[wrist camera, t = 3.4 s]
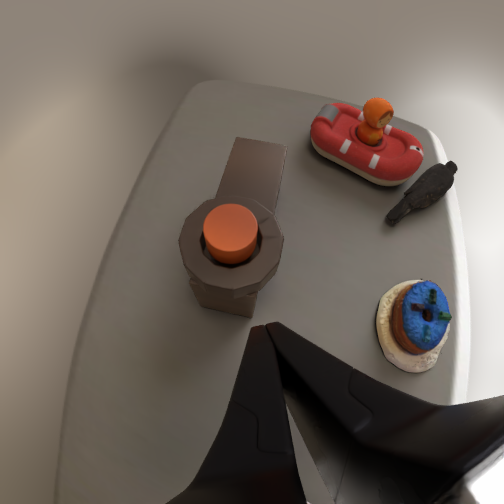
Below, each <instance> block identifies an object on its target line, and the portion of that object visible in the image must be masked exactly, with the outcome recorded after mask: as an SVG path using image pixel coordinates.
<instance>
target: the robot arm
mask: <svg viewBox="0 0 504 504" xmlns="http://www.w3.org/2000/svg"><path fill="white" fill-rule="evenodd" d="M285 402H286V403H285ZM286 404H287V406H288V408H289V411H290V413H291V415H292V417H293V419H294V421H295V423H296V425H297V427H298V430H299V432H300V434H301V436H302V438H303V440H304V442H305V444H306V446H307V448H308V450H309V452H310V454H311V456H312V458H313V461H314V463H315V465H316V467H317V469H318V471H319V473H320V475H321V477H322V479H323V481H324V483H325V485H326V487H327V489H328V491H329V493H330V495H331V497H332V499H333V500H334V502H335V504H504V395H502V396H498V397H494V398H489V399H484V400H479V401H474V402H469V403H463V404H458V405H450V406H444V405H437V404H433V403H430V402H427V401H424V400H422V399H419V398H417V397H414V396H412V395H409V394H407V393H404V392H402V391H399V390H397V389H394V388H392V387H390V386H388V385H385V384H383V383H381V382H379V381H377V380H375V379H373V378H371V377H369V376H367V375H366V374H364V373H362V372H360V371H359V370H357V369H355V368H354V369H353V367H352V366H350V365H348V364H346V363H345V362H343V361H341V360H340V359H338V358H336V357H335V356H333V355H331V354H330V353H328V352H326V351H325V350H323V349H321V348H320V347H318V346H316V345H315V344H313V343H312V342H310V341H308V340H307V339H305V338H303V337H302V336H300V335H299V334H297V333H295V332H294V331H292V330H291V329H289V328H287V327H286V326H284V325H283V324H281V323H279V322H273V323H269V324H266V325H265V326H264V325H259V326H255V327H252V328H251V330H250V333H249V337H248V340H247V344H246V347H245V351H244V354H243V357H242V361H241V364H240V368H239V371H238V375H237V378H236V381H235V385H234V388H233V391H232V395H231V398H230V401H229V404H228V408H227V411H226V414H225V417H224V419H223V422H222V425H221V427H220V429H219V432H218V434H217V436H216V438H215V440H214V442H213V444H212V446H211V448H210V450H209V452H208V454H207V456H206V458H205V460H204V462H203V463H202V465H201V467H200V469H199V471H198V473H197V475H196V476H195V478H194V480H193V481H192V482H191V484H190V485H189V486H188V487H187V488H186V489H185V490H184V491H183V492H181V493H180V494H179V495H177V496H176V497H174V498H173V499H172V500H170V501H169V502H167V503H166V504H307V501H306V498H305V494H304V491H303V487H302V484H301V480H300V477H299V473H298V468H297V464H296V458H295V453H294V447H293V442H292V436H291V431H290V425H289V420H288V414H287V409H286Z"/></svg>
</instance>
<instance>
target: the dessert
mask: <svg viewBox="0 0 504 504" xmlns="http://www.w3.org/2000/svg"><path fill="white" fill-rule="evenodd" d="M421 280H422V279H421ZM421 280H411V281H406V282H403V283H400V284H398V285H396V286H394V287H393V288H392V289H390V290H389V291H388V292H387V293H385V294H384V295H383V297H382V298H381V300H380V303H379V309H378V312H377V319H376V320H377V321H376V324H377V332H378V337H379V342H380V344H381V347H382V349H383V352H384V355H385V357H386V358H387V360H389V361H390V362H392V363H393V364H395V365H396V366H397V367H398V368H400V369H402V370H405V371H407V372H415V373H417V372H423V371H426V370H428V369H430V368H432V367H433V366H434V365H435V364H436V361H437V358H438V355H439V352H440V350H441V348H442V346H443V345H444V343H445V340H447V338H448V336H447V333H448V332H449V326H450V325H449V321H450V320H451V318H452V316H451V314H450V312H449V307H448V302H447V299H446V297H445V295H444V293H443V292H442V290H441V288H439V287H438V285H437V284H435V283H434V282H431V280H429V281H428V280H426V281H421ZM441 354H442V353H441Z"/></svg>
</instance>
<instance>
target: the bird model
mask: <svg viewBox="0 0 504 504" xmlns="http://www.w3.org/2000/svg"><path fill="white" fill-rule="evenodd" d="M456 171H457V166H456V164H455V163H454V162H452V161H449V162H447V163H446V165H443V164H441V163H439V164H436V165H434V166H432V167H431V168H429V169H428V170H427V171H426V172H424V173H423V174H422V175H421V176H420V177H419V178H418V180H417V181H416V182H415V183H414V184H413V185H412V186H411V187H410V188H409V189H408V190H407V191H406V192H405V193H404V195H406V196H405V197H404V199H402V200H401V201H400V203H399V204H398V205H396V206H395V207H394V208H393V209H392V210H391V211H390V212H389V213H388V215H387V218H388V219H390V221H391V223H393V224H396V223H398V222H399V221H400V219H401V218H403V217H404V216H405V215H406V214H407V213H408V212H409V211H410V210H411V209H412V208H418V207H421V208H424V207H427V206H428V205H431V204H432V203H433V202H434V201H436V200H437V199H438V198H440V197H442V196H443V195H444V194H445V193H446V192H447V191H448V190H449V189H450V188H451V186H452V184H453V182H454V176H453V175H454V174H455V173H456Z"/></svg>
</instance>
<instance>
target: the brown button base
mask: <svg viewBox="0 0 504 504" xmlns="http://www.w3.org/2000/svg"><path fill="white" fill-rule="evenodd" d="M286 152H287V146H285V145H280V144H274V143H269V142H264V141H258V140H252V139H246V138H240V137H236V139H235V142H234V145H233V148H232V151H231V153H230V156H229V159H228V162H227V165H226V168H225V171H224V174H223V177H222V179H221V182H220V185H219V188H218V191H217V194H216V197H215V199H211V200H207V201H205V202H204V203H203V204H202V205H200V206H199V207H198V208H197V209H196V210H195V211H194V212H192V213H191V214H190V215H189V216H188V217H187V218H186V220H185V223H184V225H183V228H182V231H181V234H180V237H179V240H178V241H179V247H180V251H181V255H182V259H183V263H184V266H185V268H186V270H187V272H188V275H189V276H190V277H191V278H190V281H189V284H190V286H191V288H192V290H193V292H194V294H195V296H196V298H197V300H198V302H199V304H200V306H202V307H206V308H210V309H214V310H219V311H223V312H227V313H232V314H236V315H241V316H245V317H250V318H252V317H253V312H254V308H255V303H256V299H257V294H258V291H260V290H261V289H262V288H263V287H264V286H265V284H266V283H267V282H268V281H269V280H270V279H271V278H272V277H273V276H274V275H275V273H276V271H277V268H278V265H279V262H280V257H281V252H282V247H283V241H284V238H283V237H284V236H283V234H282V231H281V229H280V226H279V224H278V222H277V219H276V217H275V215H274V213H275V208H276V203H277V198H278V193H279V189H280V183H281V178H282V173H283V167H284V162H285V157H286ZM224 204H238V205H241V206H243V207H245V208H247V209H248V210H250V211H251V212H252V213H253V215H254V216H255V218H256V220H257V224H258V231H257V240H256V247H255V250H254V252H253V253H252V255H251V256H250V257H249V258H248V259H246V260H245V261H243V262H240V263H237V264H225V263H221V262H219V261H217V260H216V259H214V258H213V257H212V256H211V255H210V253H209V252H208V249H207V246H206V242H205V238H204V233H203V224H204V221H205V218H206V217H207V215H208V214H209V213H210V212H211V211H212V210H213V209H214V208H216V207H218V206H220V205H224Z"/></svg>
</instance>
